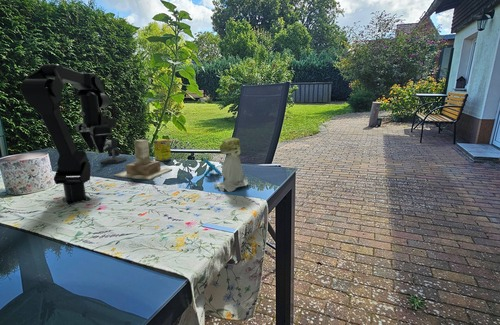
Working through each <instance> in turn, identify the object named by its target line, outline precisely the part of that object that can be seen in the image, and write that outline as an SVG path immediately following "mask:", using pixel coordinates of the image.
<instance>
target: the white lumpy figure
mask: <svg viewBox="0 0 500 325" xmlns="http://www.w3.org/2000/svg"><path fill="white" fill-rule="evenodd" d="M219 151H220V154H221V155H225V156H226V157H224V161H223V163H222V165H221V173H222V175H221V176H222V177H223V178H222V181H219V182H217V181H214V183H213V184H214V185H213V186H214V188H215V189H219V191H220V192H224V191H227V192H229V193H231V192H233V191H235V190H236V189H237V188H239V187H247V186H248V185H250V184H249V181H248V179H245V178H244V174H243V166H242V163H241V159H240V157H239V155H241V153H242V148H241V141H240V138H237V137H227V138H225V139H224V140H223V141H222V143H221V144H220V145H219Z"/></svg>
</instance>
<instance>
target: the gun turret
mask: <svg viewBox="0 0 500 325" xmlns="http://www.w3.org/2000/svg"><path fill="white" fill-rule="evenodd" d="M107 139H108V137H107V138H106V139H105V143H104V148H103V151H105V152H107V155H108V158H107V157H106V158H104V159H101V160H100V164H102V165H117V164H122V163H125V162H127V161H128V160H127V158H126V157H122V156H120V151H119V148H118V147H117V146H118V143H117V141H116V138H115V137H114V136H112V137H111V139H108V140H107Z"/></svg>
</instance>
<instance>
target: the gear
mask: <svg viewBox="0 0 500 325" xmlns="http://www.w3.org/2000/svg"><path fill="white" fill-rule="evenodd" d="M203 161H204V163H205V164H206V165H207V166H208V169H207V170H206V171H205V173H204V174H203V175H204V177H207V176H208V174H209V173H211V172H212V171H215V173H216V174H218V175H219V176H222V171H220V170H219V169H218V168H217V167H216V165H215V164H214V163H212V162H211V161H210V160H208V159H207V158H204V159H203Z"/></svg>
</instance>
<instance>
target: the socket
mask: <svg viewBox="0 0 500 325" xmlns="http://www.w3.org/2000/svg"><path fill="white" fill-rule="evenodd" d="M125 169H126V170H124V171H121V172H119V173H116V174H114V175H113V176H114V177H116V178H127V179H128V178H129V179H134V180H135V179H138V180H146V181H151V180H153V179H156V178H157V177H160V176H162V175H164V174H167V173H169V172H172V171H173V168H167V167H166V168H165V167H161V162H160V161H155V160H150V163H149V164H146V165H138V164H136V161H133V162H130V163H127V164H125Z"/></svg>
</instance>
